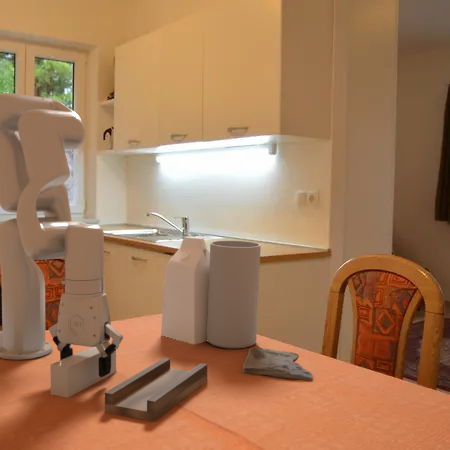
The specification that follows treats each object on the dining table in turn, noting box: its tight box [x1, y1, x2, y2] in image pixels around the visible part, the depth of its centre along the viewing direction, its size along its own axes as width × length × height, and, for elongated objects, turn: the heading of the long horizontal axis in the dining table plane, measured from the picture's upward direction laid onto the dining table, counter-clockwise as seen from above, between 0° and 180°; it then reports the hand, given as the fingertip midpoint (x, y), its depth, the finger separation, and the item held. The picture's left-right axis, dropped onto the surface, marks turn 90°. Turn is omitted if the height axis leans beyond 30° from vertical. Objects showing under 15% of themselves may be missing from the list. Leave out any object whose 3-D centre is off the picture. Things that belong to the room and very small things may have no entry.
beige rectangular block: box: [50, 344, 117, 398], centre depth 118 cm, size 4×16×6 cm, turn 157°
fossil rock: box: [242, 346, 314, 381], centre depth 130 cm, size 18×15×2 cm
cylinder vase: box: [207, 239, 262, 350], centre depth 146 cm, size 12×12×25 cm
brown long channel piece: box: [104, 357, 208, 422], centre depth 111 cm, size 10×22×4 cm, turn 158°
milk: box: [160, 236, 210, 345], centre depth 153 cm, size 12×12×26 cm
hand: (85, 371), depth 118 cm, fingers open, 8 cm apart
